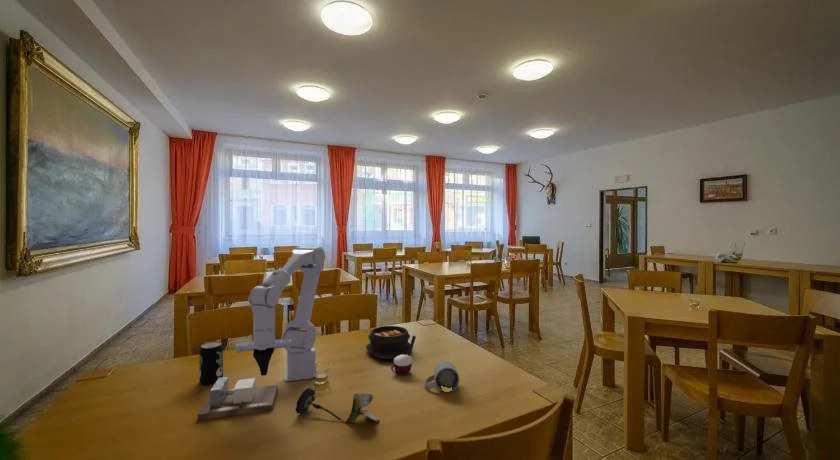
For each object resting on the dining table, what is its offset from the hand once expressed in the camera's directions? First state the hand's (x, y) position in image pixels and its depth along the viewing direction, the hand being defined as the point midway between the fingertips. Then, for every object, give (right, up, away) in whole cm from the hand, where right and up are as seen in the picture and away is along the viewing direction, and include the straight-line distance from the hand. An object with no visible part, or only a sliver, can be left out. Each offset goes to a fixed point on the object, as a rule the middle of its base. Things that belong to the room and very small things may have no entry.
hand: (264, 374), depth 98 cm
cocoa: (+39, -8, +20) cm, 45 cm away
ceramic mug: (+52, -9, +9) cm, 54 cm away
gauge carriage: (-6, -6, -3) cm, 9 cm away
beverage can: (-23, -8, +12) cm, 27 cm away
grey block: (-11, -6, -3) cm, 13 cm away
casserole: (+33, -8, +40) cm, 52 cm away
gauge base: (-6, -8, -2) cm, 10 cm away
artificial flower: (+24, -9, -8) cm, 27 cm away
